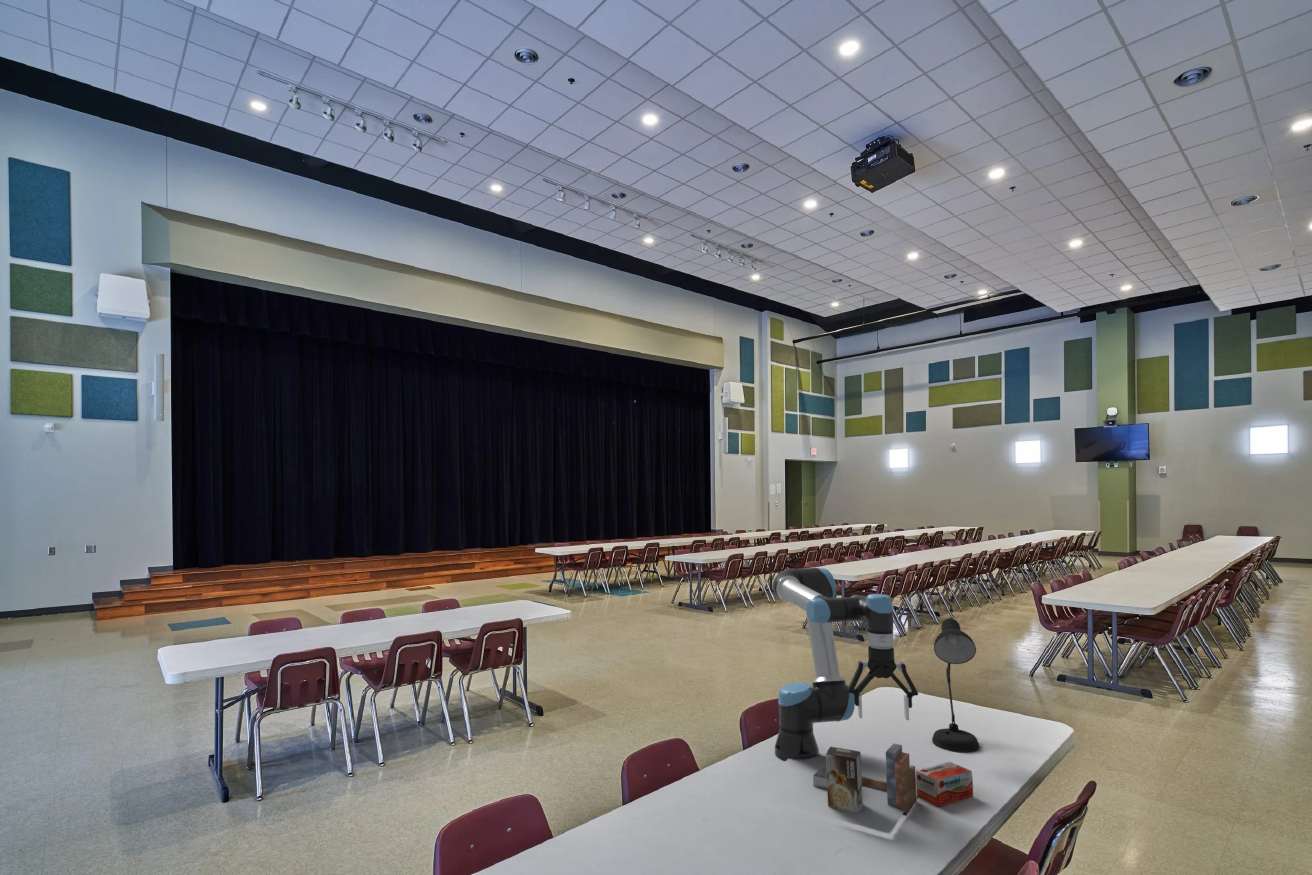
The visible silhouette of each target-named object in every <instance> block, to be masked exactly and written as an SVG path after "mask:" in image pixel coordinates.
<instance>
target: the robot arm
mask: <svg viewBox="0 0 1312 875" xmlns="http://www.w3.org/2000/svg"><path fill="white" fill-rule="evenodd" d="M772 590H773V591H772V592H774V595H775V596H776V598H778V599H779V600H781V601H782V602H785V603H791V604H793V605H795V606H797V607H798V608H800V609H801V610H802V611H805V614H806V618H807V627H808V632H809V640H810V647H811V652H812V653H811V654H812V659H813V668H814V675H815V677H814V679H813V680H812V685H811V684H809V683H807V682H791V683H788V684H785V685H783V686H782V687H781V688H780V689H779V691H778V700H777V703H778V718H779V720H778V721H779V723H778V724H779V726H778V727H779V730H778V734H777V738H776V742H775V744H774V754H775V756H776V757H777V758H778V759H780V760H784V761H788V760H789V759H792V760H809V759H813V758H815V757H817V756H820V752H819V750H820V749H819V746H818V743H817V739H816V737H815V733H814V724H816V723H829V722H832V723H833V722H840V721H848V720H849V719H850V718H852V716H853V714H854V711H855V709H856V708H855V707H857V710H858V711H857V712H858V718H859V719H863V702H862V701H863V698H862V694H861V693H862V692H863V690H865V688H866V687H867V686H868V685H869V683H870V682H871V681H872V680H874V678H876V679H882V678H883V679H889V678H891V679H892V680H893V681H894V682H895V683H896V684H897V685H898V687H899V688H900V689H901V691H903V692H904V693H905V694H904V695H903V705H904V706H903V707H904V708H903V710H904V711H903V712H904V719H905V720H906V721H910V710H909V709H912V708H913V697H915V696H918V695H919V692H918V689H917V688H916V687H915V684H914V682H913V681H912V679H911V677H910V676H909V673H908V672H907V666H906V664H905V663H904V662H903V661H901V662H899V663H896V661H895V648H894V645H895V644H894V642H895V640H894V615H893V614H894V611H893V610H894V607H893V600H892V597H891V596H890V595H889V594H883V593H873V594H872V593H870V594H868V595H867V596H864V595H858V594H855V595H852V596H849V597H836V595H837V583H836V581H835V577H834V576H833V574H832V573H831V572H830V571H829V569H827V568H824V567H806V568H802V567H801V568H787V569H784V570H782V571H780V572H779V573H778V574H776V576H775V577H774V579H773V582H772ZM841 622H842V623H844V622H846V623H848V622H864V623H867V625H866V626H867V644H868V645H869V646H868V648H867V650H868V651H867V653H868V655H867V657H868V660H867V662H863V661H861V660H858V662H857V668H856V670H855V673H854V675H853V677H852V679H851V681H850V682H849V685H848V684H846V679H845V678H844V677H843V676H841V674H840V669H839V668H840V667H839V662H838V656H837V655H838V654H837V650H836V643H835V636H834V630H833V624H832V623H841ZM866 668H868V670H869V671H868V672H867V674H866V676H864V677H863V679H862V680H861V681H860V683H858V682H859V680H860V678H861V675H862V673H863V671H864V670H865V669H866ZM896 669H898V671H899V672H901V673H902V675H903V677H904V680H905V681H906V683H907V684H908V686H909V688H910V690H909V689H908V688H907V687H906V686H905V685H904V684H903V683H902V681H901V680H900V679H899V678H898V677H897V675H896V674H895V673H894V672H895V671H896ZM857 684H858V685H857Z"/></svg>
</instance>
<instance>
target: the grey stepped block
mask: <svg viewBox="0 0 1312 875" xmlns="http://www.w3.org/2000/svg"><path fill="white" fill-rule="evenodd" d="M821 767H822V768H821ZM821 767H820V769H819V770H817V771H816V772H815V773H814V774H813V775H812V783H813V787H817V788H821V789H825V790H827V770H826V766H821Z"/></svg>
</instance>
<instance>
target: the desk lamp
mask: <svg viewBox="0 0 1312 875" xmlns="http://www.w3.org/2000/svg"><path fill="white" fill-rule="evenodd" d="M940 626H941V632H940V633H939V634H937V636H936V637H935V639H934V642H933V651H934V654H935V655H936V657H937V658H938V659H939V660H940V661H942V662H945V663H947V667H946V669H945V671H946V673H945V674H946V680H947V684H948V686H947V687H948V693H949V701H950V702H949V703H950V712H951V723H949V724H948V727H947V728H940V729H937V730H936V731H934V733H933V736H932V737H931V741H932V744H933V745H934V746H936V747H938V748H940V749H943V750H947V751H949V752H954V751H955V752H956V753H973V752H976V751H978V750H979V749H980V743H979V741H978V739H977V738H978V737H976V735H974V734H973V733H971V732H968V731H966V730H963V729H959V725H958V724H957V723H956V719H955V718H956V717H955V710H954V706H953V705H954V704H953V695H952V688H951V687H952V686H951V665H959V664H960V665H961V664H965V663H968V662H970V661H971V660H972V659H973V658H974V657H975V656H976V653H977V647H976V645H975V642H974V640H973V639H972V637H971V636H970V635H969V634H967V633H966V632H964V631H963V630H961V626H960V623H959V622H958V620H956V619H954V618H951V617H950V618H946V619H944V620H943V621H942V623H941V625H940Z"/></svg>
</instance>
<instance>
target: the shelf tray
mask: <svg viewBox="0 0 1312 875" xmlns="http://www.w3.org/2000/svg"><path fill="white" fill-rule="evenodd" d="M822 767H823V766H821V767H820V769H821V768H822ZM885 767H886V768H885V770H886V772H885V773H886V781H885V780H880V779H875V778H873V777H867V776H863V775H861V778H862V786H865V787H869V788H874V789H877V790H881V791H886V798H887V805H888V806H891V807H893V808H894V807H895V808H898V809H902V811H903V812H902V814H901V815H902V816H905V817H907V816H908V815H909V813H910V811H911V809H912V808H913V807H914V805H915V804H916V802H917V785H916V766H915V765H911V766H910V753H909V752H903V745H902V744H899V743H892V744H891V746H889V748H888V749H887V750H886V751H885Z"/></svg>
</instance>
